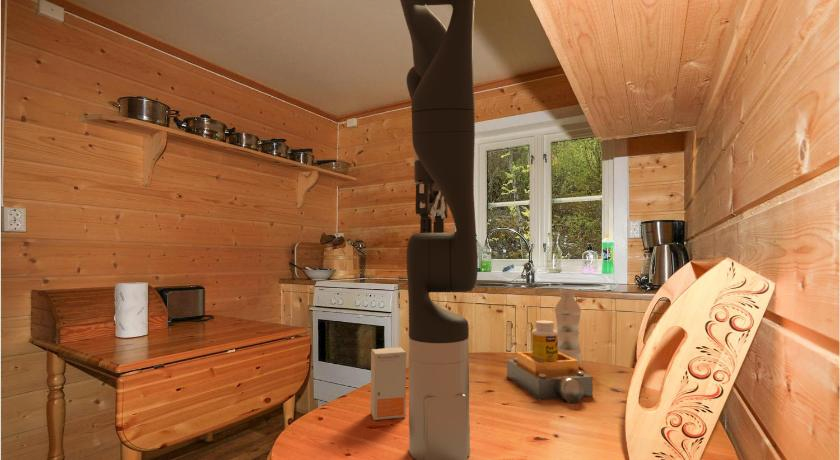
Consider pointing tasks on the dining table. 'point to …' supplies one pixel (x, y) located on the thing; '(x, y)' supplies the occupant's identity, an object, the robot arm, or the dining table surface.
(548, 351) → the supplement bottle
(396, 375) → the skincare box
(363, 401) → the dining table surface
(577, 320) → the plastic bottle
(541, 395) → the gearbox housing
